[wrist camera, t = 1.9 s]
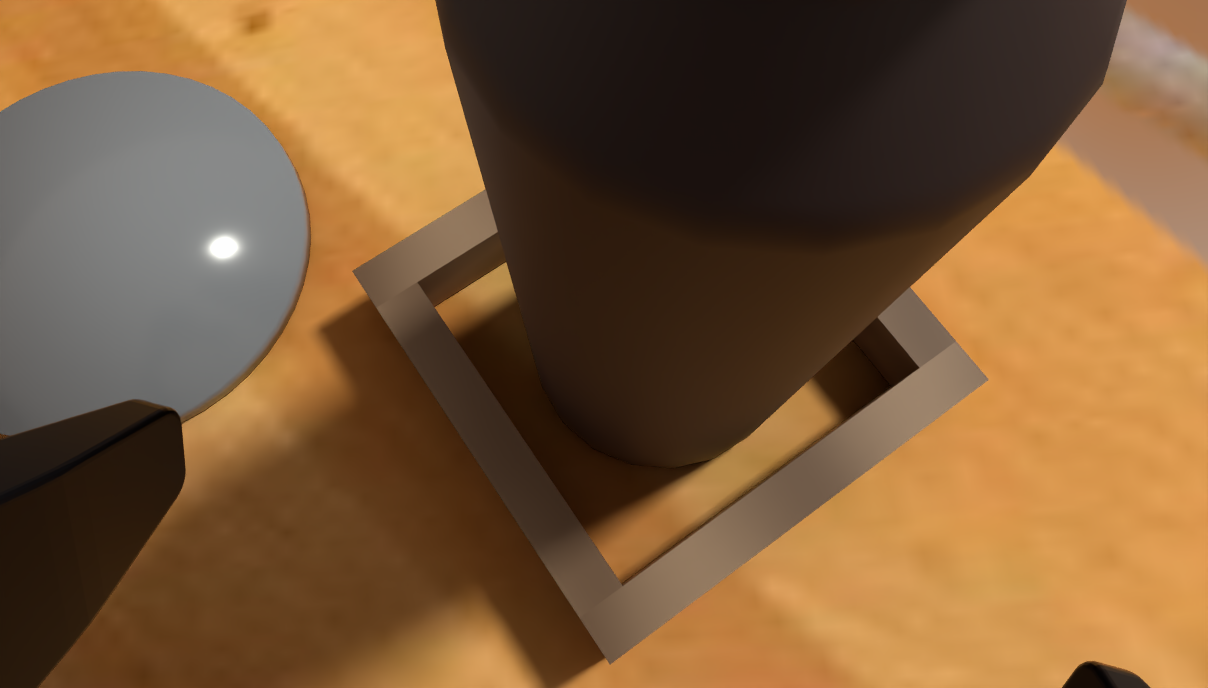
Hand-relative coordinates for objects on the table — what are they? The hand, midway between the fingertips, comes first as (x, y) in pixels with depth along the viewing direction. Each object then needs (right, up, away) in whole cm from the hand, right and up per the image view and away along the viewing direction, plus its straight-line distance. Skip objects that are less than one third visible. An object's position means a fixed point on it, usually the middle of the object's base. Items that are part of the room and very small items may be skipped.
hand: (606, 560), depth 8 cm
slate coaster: (-14, +5, +15) cm, 21 cm away
